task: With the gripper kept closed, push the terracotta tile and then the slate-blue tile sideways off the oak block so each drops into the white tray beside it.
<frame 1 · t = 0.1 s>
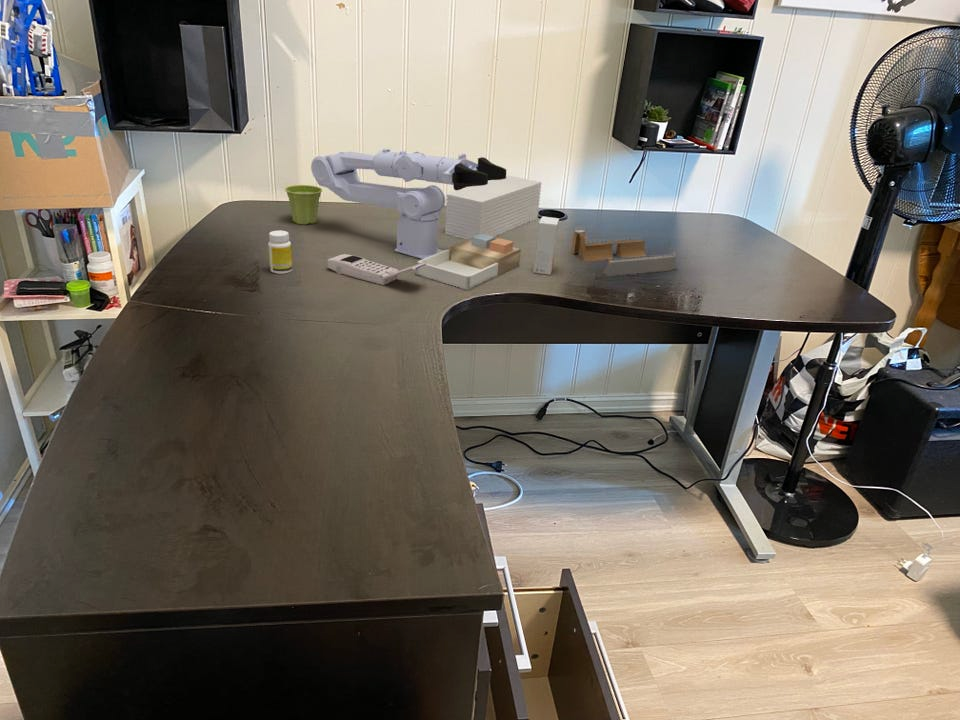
hand: (496, 176, 152), 22 cm above the table, tool horizontal, fingers open, 7 cm apart
oak block: (484, 263, 167), on the table
mobile phone: (372, 279, 154), on the table
plant pot: (305, 222, 187), on the table
supplement bottle: (281, 271, 154), on the table
skate ramp: (611, 259, 179), on the table
skincare box: (543, 271, 166), on the table
terracotta tile: (501, 250, 164), point 4 cm above the table, touching oak block
blue tile: (483, 245, 166), point 4 cm above the table, touching oak block
white tray: (456, 275, 158), on the table
stack of papers: (493, 227, 196), on the table
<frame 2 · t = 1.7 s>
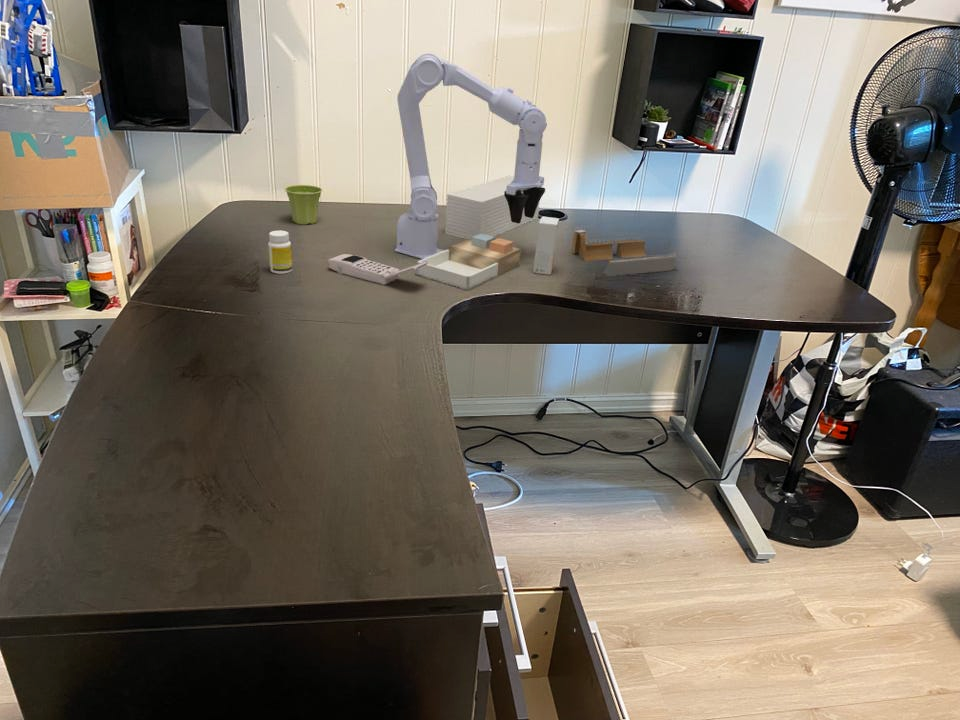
hand: (522, 219, 168), 9 cm above the table, tool pointing down, fingers open, 6 cm apart
nothing on the table moved.
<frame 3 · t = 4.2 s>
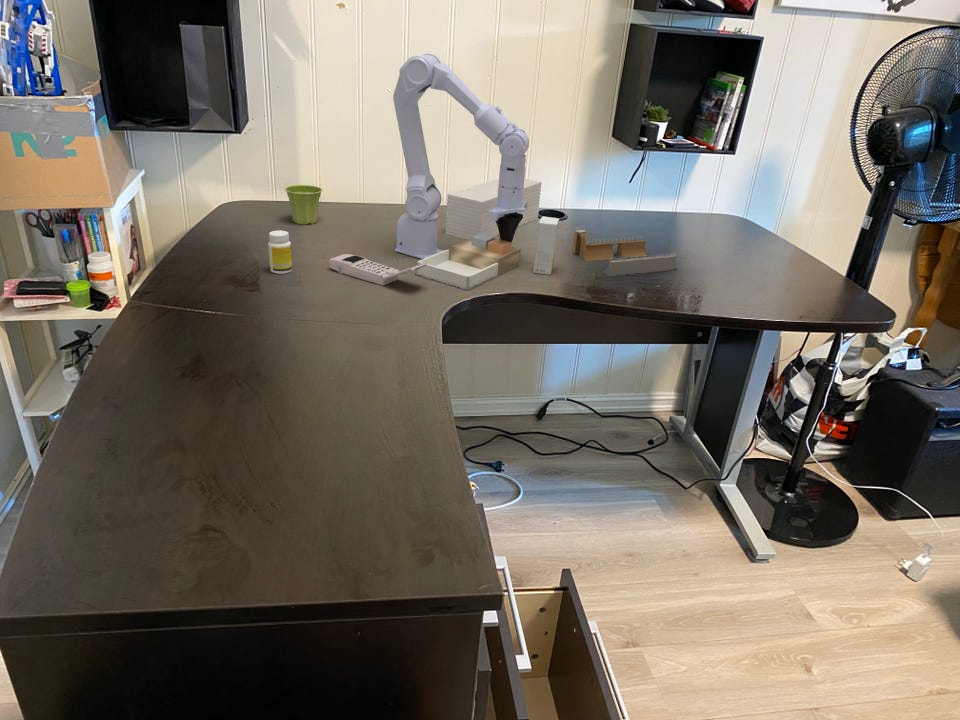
hand: (505, 244, 165), 5 cm above the table, tool pointing down, fingers closed
terracotta tile: (499, 250, 163), point 4 cm above the table, touching gripper
everything else where it was.
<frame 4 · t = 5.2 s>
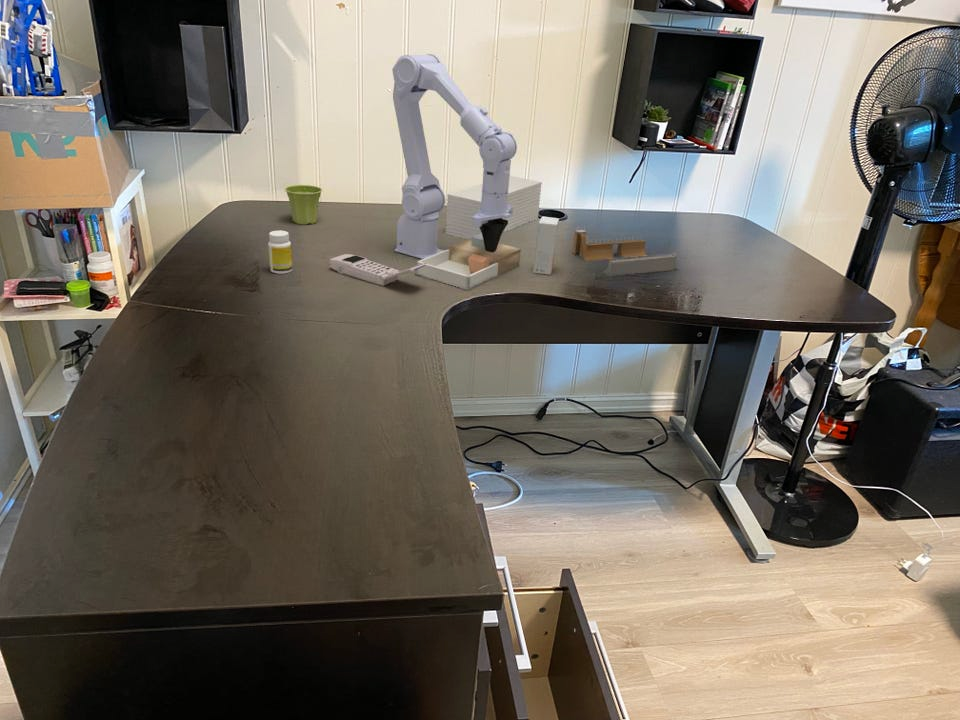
hand: (490, 251, 160), 5 cm above the table, tool pointing down, fingers closed
terracotta tile: (481, 263, 158), point 3 cm above the table, tilted 109°, touching white tray
everything else where it was.
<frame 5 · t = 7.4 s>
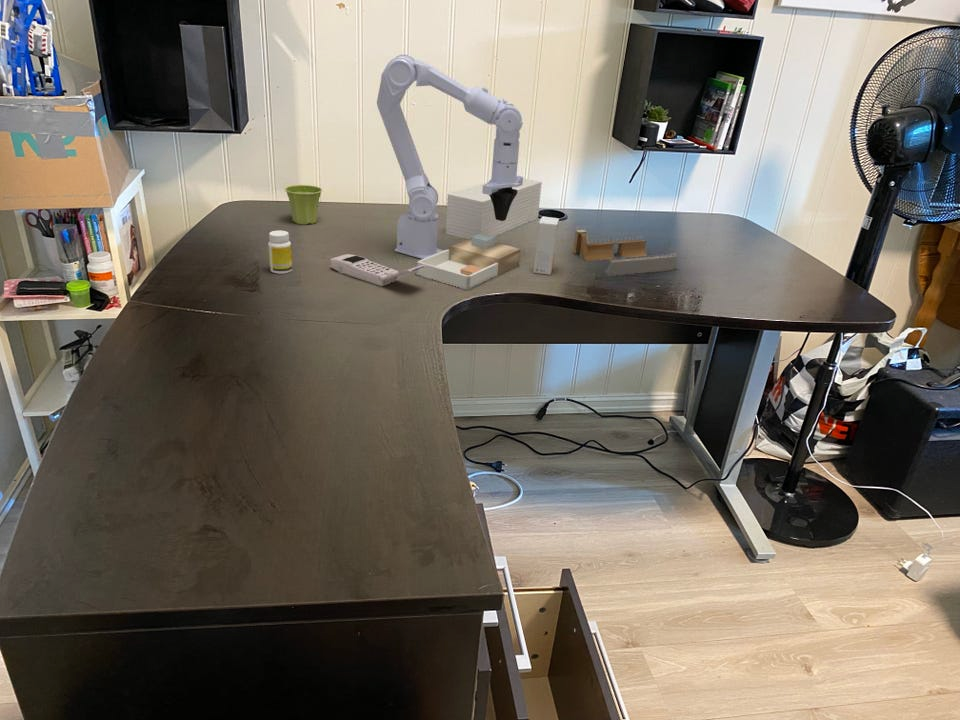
hand: (500, 219, 167), 9 cm above the table, tool pointing down, fingers closed
terracotta tile: (473, 269, 155), point 2 cm above the table, tilted 180°, touching white tray
everything else where it was.
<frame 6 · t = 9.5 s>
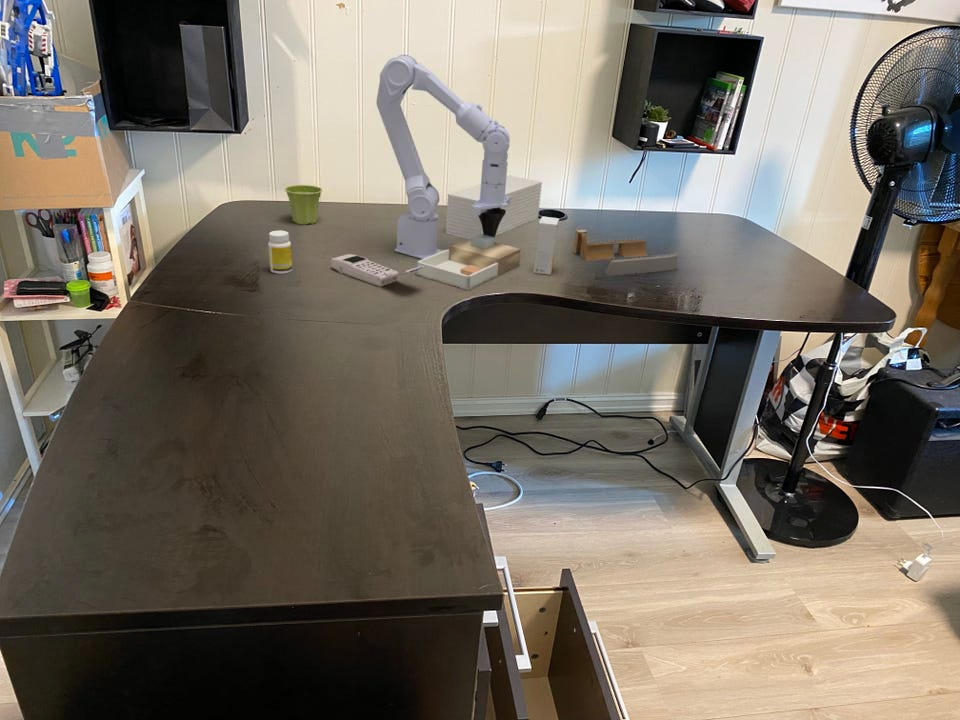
hand: (489, 239, 168), 5 cm above the table, tool pointing down, fingers closed
blue tile: (482, 245, 166), point 4 cm above the table, touching gripper
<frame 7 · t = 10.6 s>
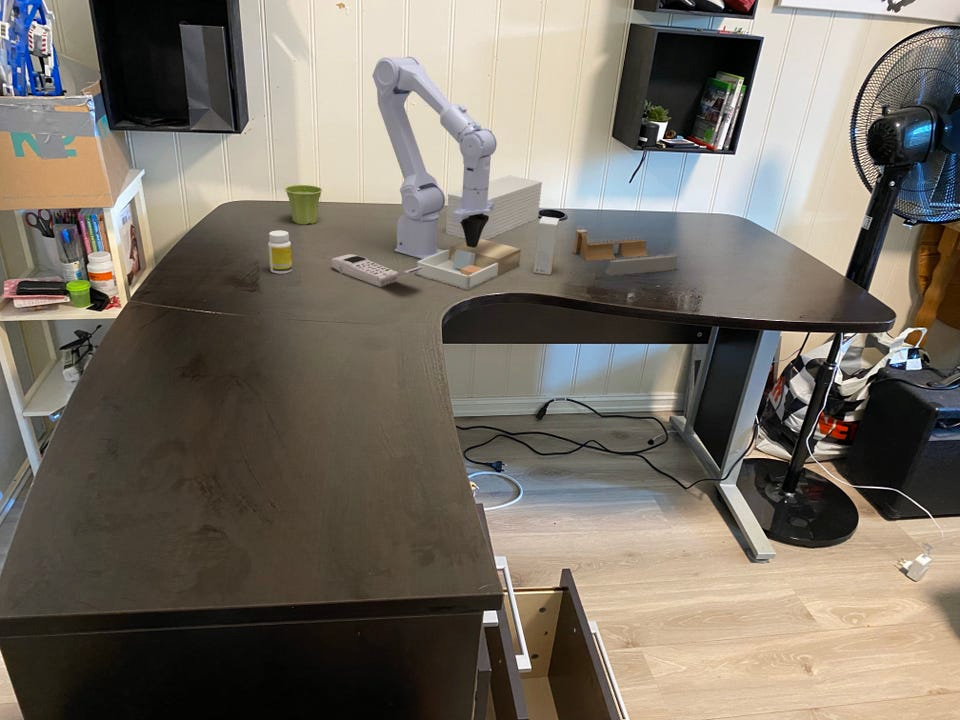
hand: (471, 246, 162), 5 cm above the table, tool pointing down, fingers closed
blue tile: (466, 260, 160), point 2 cm above the table, tilted 78°, touching white tray
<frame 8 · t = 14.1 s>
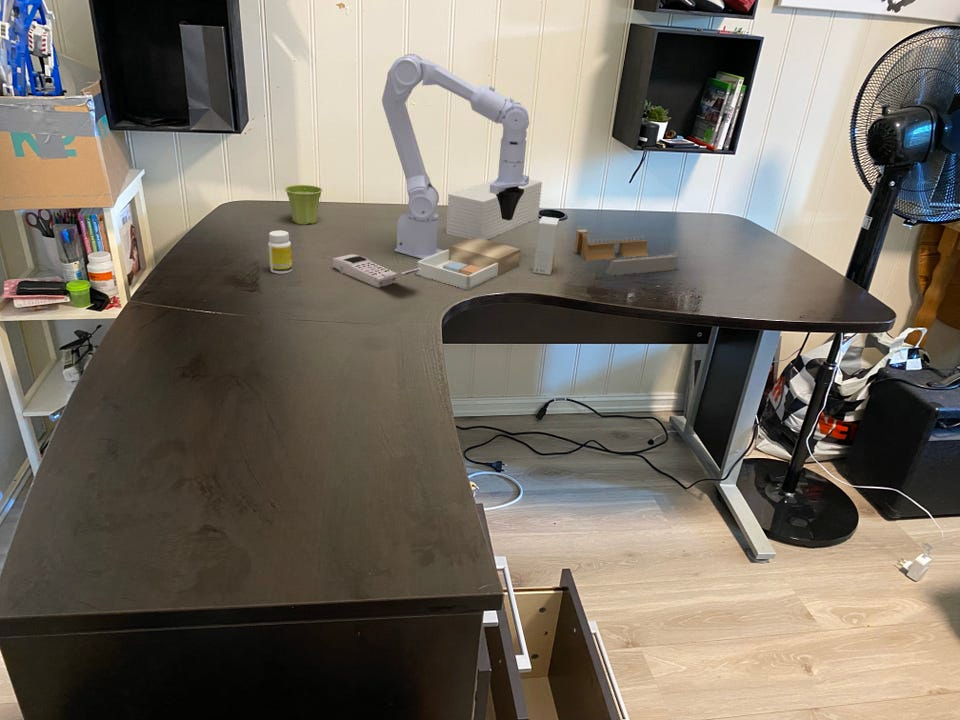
hand: (506, 219, 166), 10 cm above the table, tool pointing down, fingers closed
blue tile: (455, 265, 157), point 2 cm above the table, tilted 180°, touching white tray
at the end: terracotta tile inside the target area (4.1 cm from its centre), point 2.5 cm above the table; blue tile inside the target area (0.4 cm from its centre), point 2.5 cm above the table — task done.
